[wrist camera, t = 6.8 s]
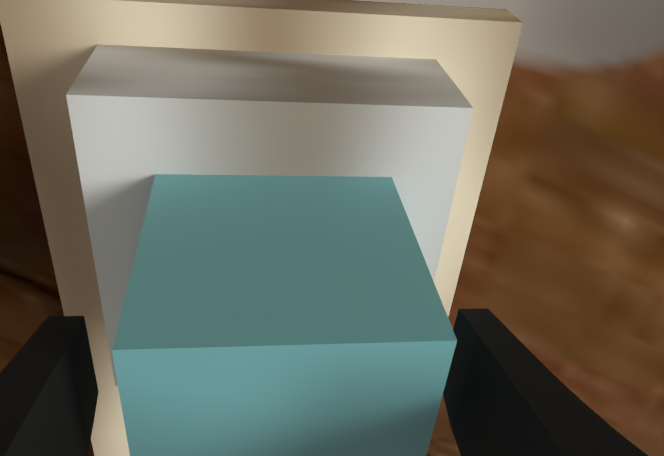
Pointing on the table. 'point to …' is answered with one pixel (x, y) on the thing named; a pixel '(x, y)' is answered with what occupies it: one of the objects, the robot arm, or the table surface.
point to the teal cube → (280, 321)
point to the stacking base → (237, 23)
